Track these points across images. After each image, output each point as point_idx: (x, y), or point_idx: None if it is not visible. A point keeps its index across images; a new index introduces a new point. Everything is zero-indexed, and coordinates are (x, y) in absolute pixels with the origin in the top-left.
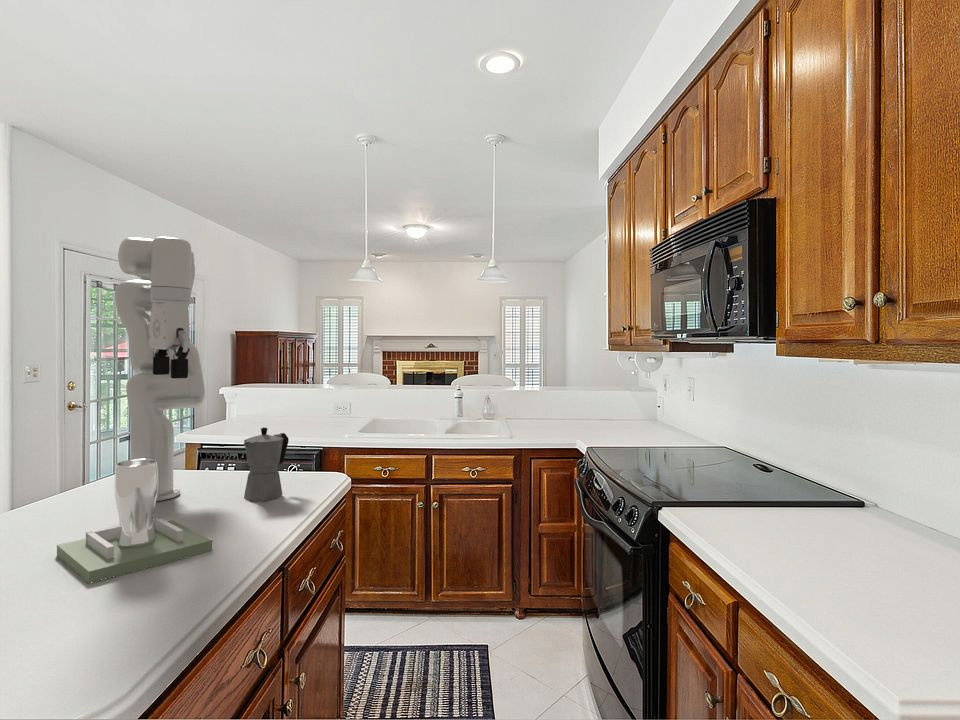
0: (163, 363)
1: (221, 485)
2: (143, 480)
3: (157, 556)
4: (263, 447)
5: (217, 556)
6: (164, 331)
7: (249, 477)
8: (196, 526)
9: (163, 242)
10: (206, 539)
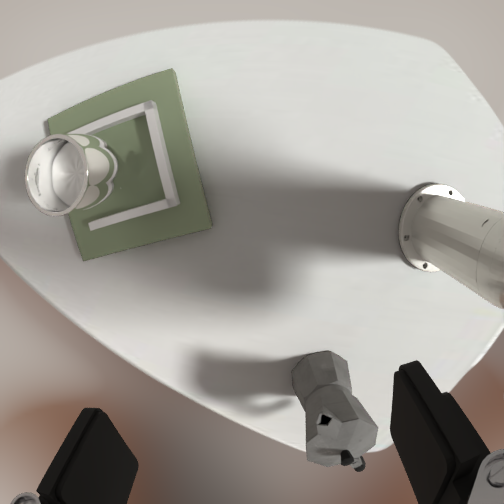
0: (417, 463)
1: (428, 331)
2: (42, 185)
3: None
4: (307, 434)
5: (69, 257)
6: None
7: (329, 378)
8: (209, 259)
9: None
10: (89, 255)
